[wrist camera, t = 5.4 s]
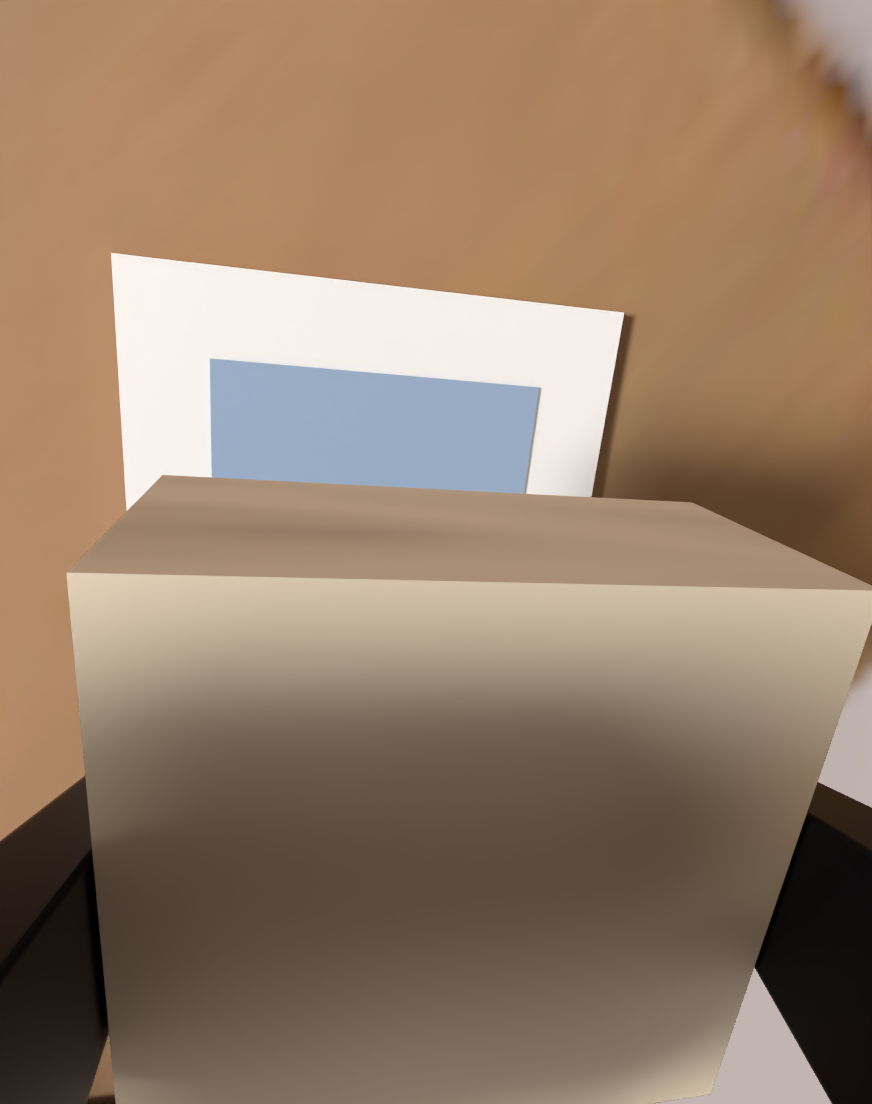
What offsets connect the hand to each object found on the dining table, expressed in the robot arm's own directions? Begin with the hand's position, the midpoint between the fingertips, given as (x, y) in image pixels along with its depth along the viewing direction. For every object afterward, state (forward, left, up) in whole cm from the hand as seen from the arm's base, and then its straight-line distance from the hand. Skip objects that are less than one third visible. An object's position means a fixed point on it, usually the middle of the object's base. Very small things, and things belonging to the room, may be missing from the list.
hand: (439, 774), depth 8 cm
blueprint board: (0, 0, -10) cm, 10 cm away
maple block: (0, 0, -1) cm, 1 cm away
